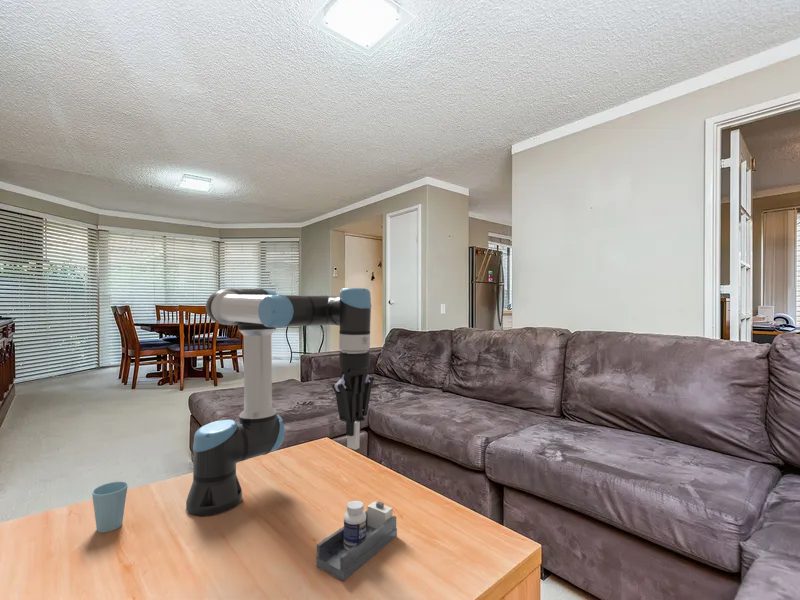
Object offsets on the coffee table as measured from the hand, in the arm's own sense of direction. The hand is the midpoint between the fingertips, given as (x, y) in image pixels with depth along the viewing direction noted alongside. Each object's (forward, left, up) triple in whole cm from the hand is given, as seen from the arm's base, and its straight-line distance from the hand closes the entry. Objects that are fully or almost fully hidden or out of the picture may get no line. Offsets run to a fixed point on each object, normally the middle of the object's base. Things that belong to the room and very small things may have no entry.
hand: (353, 447), depth 95 cm
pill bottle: (+1, -1, -23) cm, 23 cm away
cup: (-60, -30, -25) cm, 71 cm away
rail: (+1, +1, -25) cm, 25 cm away
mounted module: (+1, +9, -23) cm, 25 cm away
